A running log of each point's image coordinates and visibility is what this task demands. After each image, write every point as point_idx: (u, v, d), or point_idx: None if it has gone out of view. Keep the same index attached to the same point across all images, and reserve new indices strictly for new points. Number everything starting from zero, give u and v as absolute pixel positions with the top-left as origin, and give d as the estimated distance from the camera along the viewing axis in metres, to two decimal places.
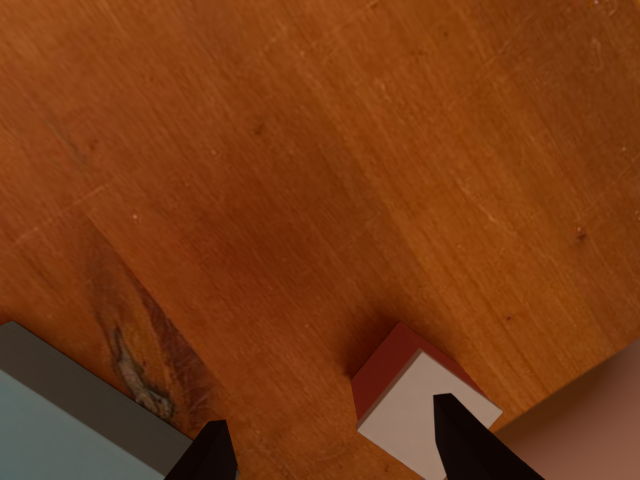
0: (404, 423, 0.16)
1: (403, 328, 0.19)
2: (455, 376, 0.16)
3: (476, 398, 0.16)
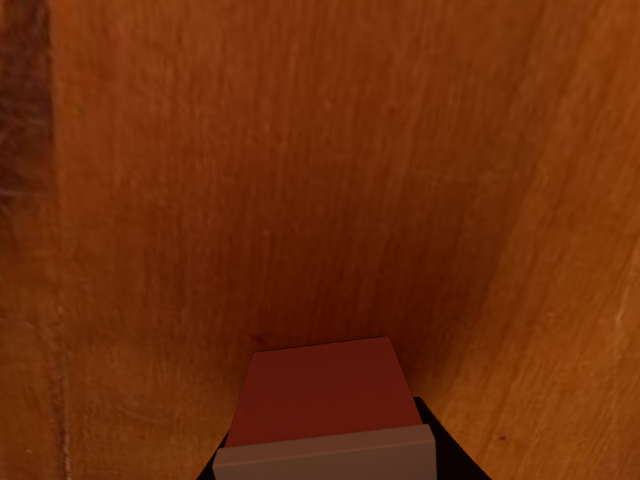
0: None
1: (394, 354, 0.11)
2: None
3: None
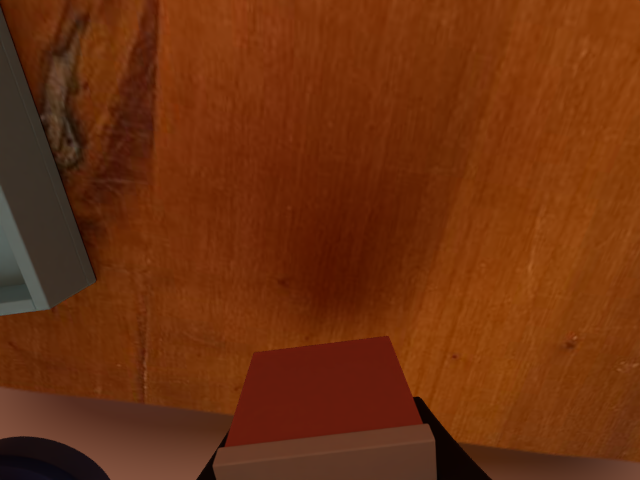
0: None
1: (393, 354, 0.11)
2: None
3: None
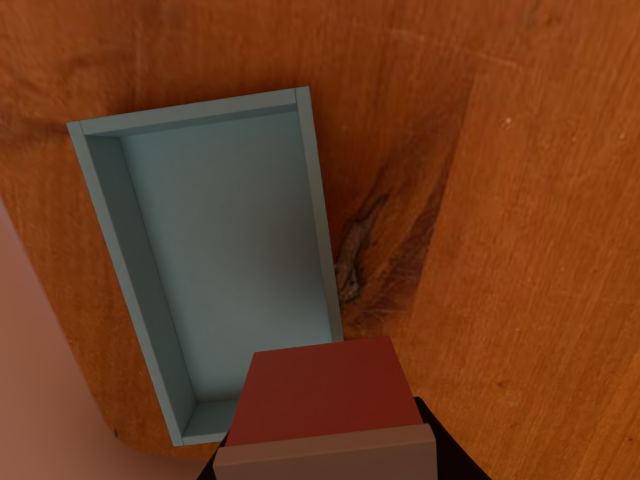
0: None
1: (394, 354, 0.11)
2: None
3: None
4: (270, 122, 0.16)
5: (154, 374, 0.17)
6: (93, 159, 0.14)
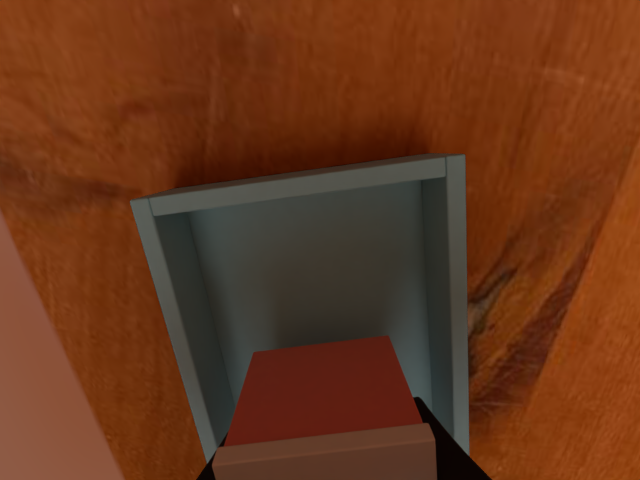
0: None
1: (393, 354, 0.11)
2: None
3: None
4: (381, 186, 0.12)
5: None
6: (163, 246, 0.10)
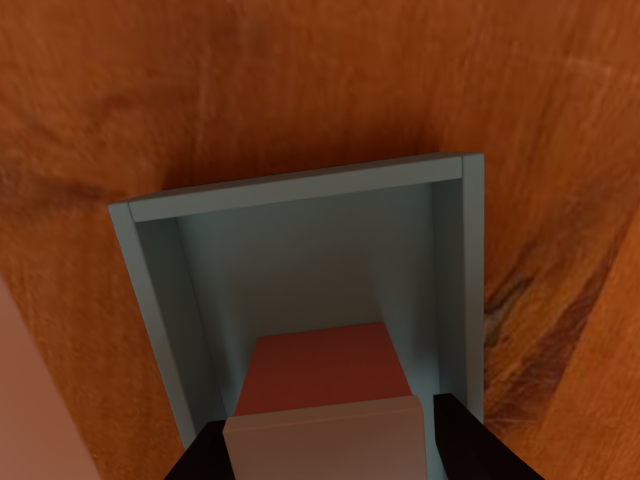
0: (299, 473, 0.09)
1: (388, 337, 0.11)
2: (426, 470, 0.09)
3: None
4: (387, 188, 0.11)
5: None
6: (145, 256, 0.09)
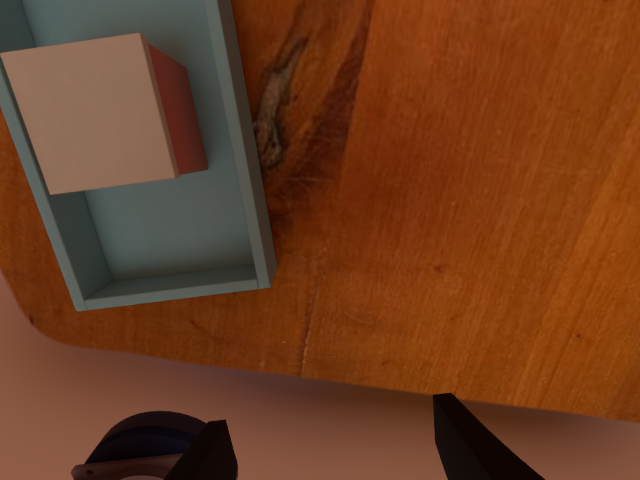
0: (61, 94, 0.12)
1: (175, 61, 0.15)
2: (155, 96, 0.12)
3: (159, 139, 0.12)
4: None
5: (48, 221, 0.15)
6: None
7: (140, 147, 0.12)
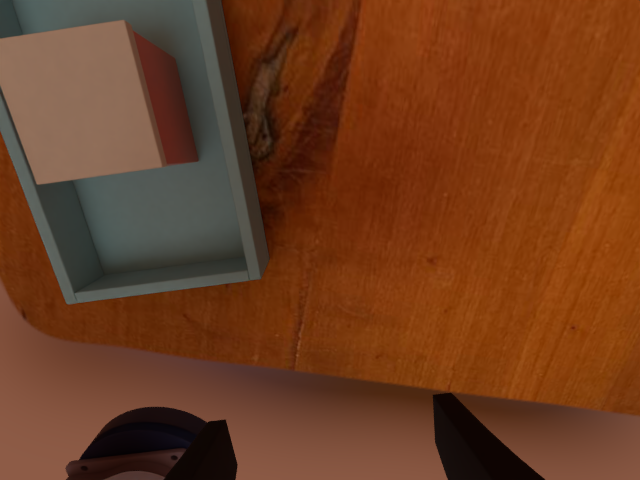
0: (46, 83, 0.12)
1: (163, 51, 0.15)
2: (140, 84, 0.12)
3: (145, 128, 0.12)
4: None
5: (37, 213, 0.15)
6: None
7: (126, 136, 0.12)
